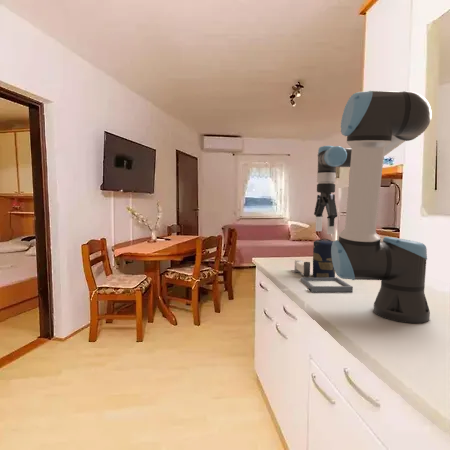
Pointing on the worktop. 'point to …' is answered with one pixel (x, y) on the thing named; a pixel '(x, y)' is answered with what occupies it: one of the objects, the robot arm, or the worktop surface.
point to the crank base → (295, 272)
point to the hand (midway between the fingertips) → (324, 232)
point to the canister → (323, 259)
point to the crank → (302, 267)
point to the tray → (328, 289)
